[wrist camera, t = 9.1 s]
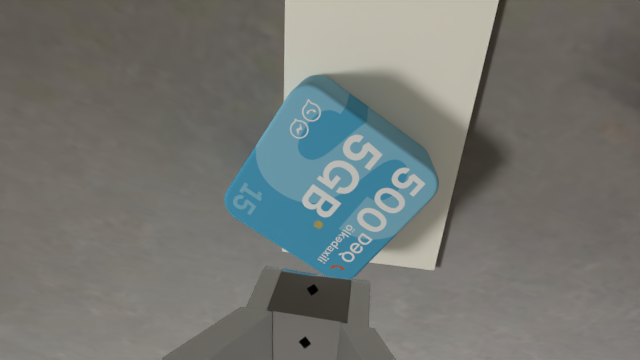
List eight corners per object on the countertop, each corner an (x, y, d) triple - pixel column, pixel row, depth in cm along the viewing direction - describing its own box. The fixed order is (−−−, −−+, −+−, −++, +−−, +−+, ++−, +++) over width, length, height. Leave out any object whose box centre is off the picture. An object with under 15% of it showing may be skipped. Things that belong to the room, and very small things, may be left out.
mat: (514, -77, 22) (517, -79, 21) (433, 266, 33) (434, 270, 32) (287, -85, 23) (286, -87, 22) (283, 248, 34) (282, 251, 33)
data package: (301, 73, 22) (450, 182, 24) (312, 64, 26) (438, 157, 28) (215, 207, 27) (344, 289, 29) (236, 182, 31) (347, 254, 33)
